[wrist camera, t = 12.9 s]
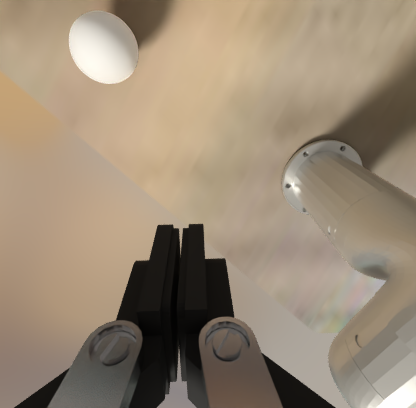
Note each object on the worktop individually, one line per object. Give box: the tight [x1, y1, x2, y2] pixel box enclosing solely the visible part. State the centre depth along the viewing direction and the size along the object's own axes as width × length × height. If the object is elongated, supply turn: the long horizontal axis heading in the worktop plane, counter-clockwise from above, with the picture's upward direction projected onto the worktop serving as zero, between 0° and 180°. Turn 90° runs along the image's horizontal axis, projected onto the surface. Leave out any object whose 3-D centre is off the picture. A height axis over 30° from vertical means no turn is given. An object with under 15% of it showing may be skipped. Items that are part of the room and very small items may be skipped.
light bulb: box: [69, 10, 139, 84], centre depth 30 cm, size 7×7×11 cm
